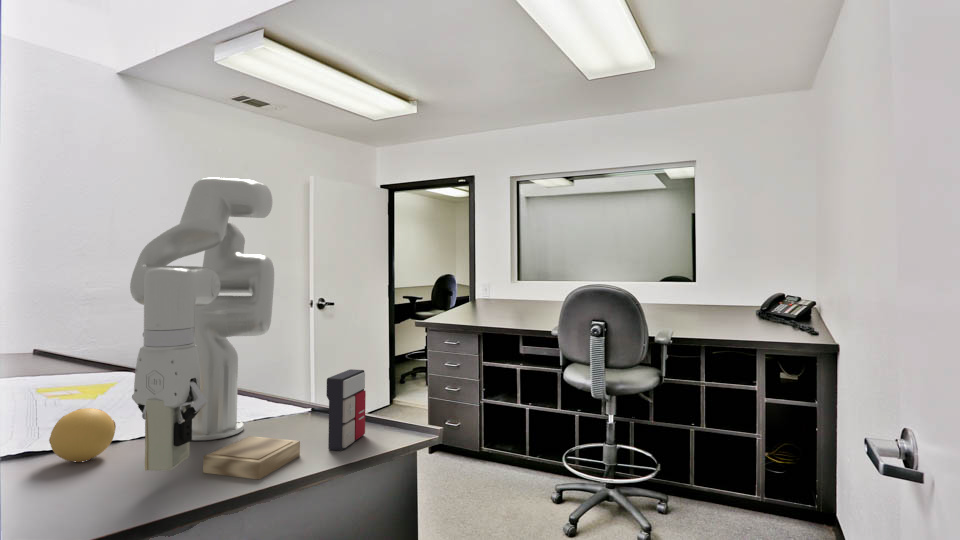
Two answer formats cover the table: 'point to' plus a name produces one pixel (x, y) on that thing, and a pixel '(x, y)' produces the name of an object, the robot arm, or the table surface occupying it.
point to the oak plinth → (251, 457)
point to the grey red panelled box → (346, 408)
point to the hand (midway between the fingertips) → (168, 440)
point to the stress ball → (82, 434)
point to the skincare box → (162, 438)
